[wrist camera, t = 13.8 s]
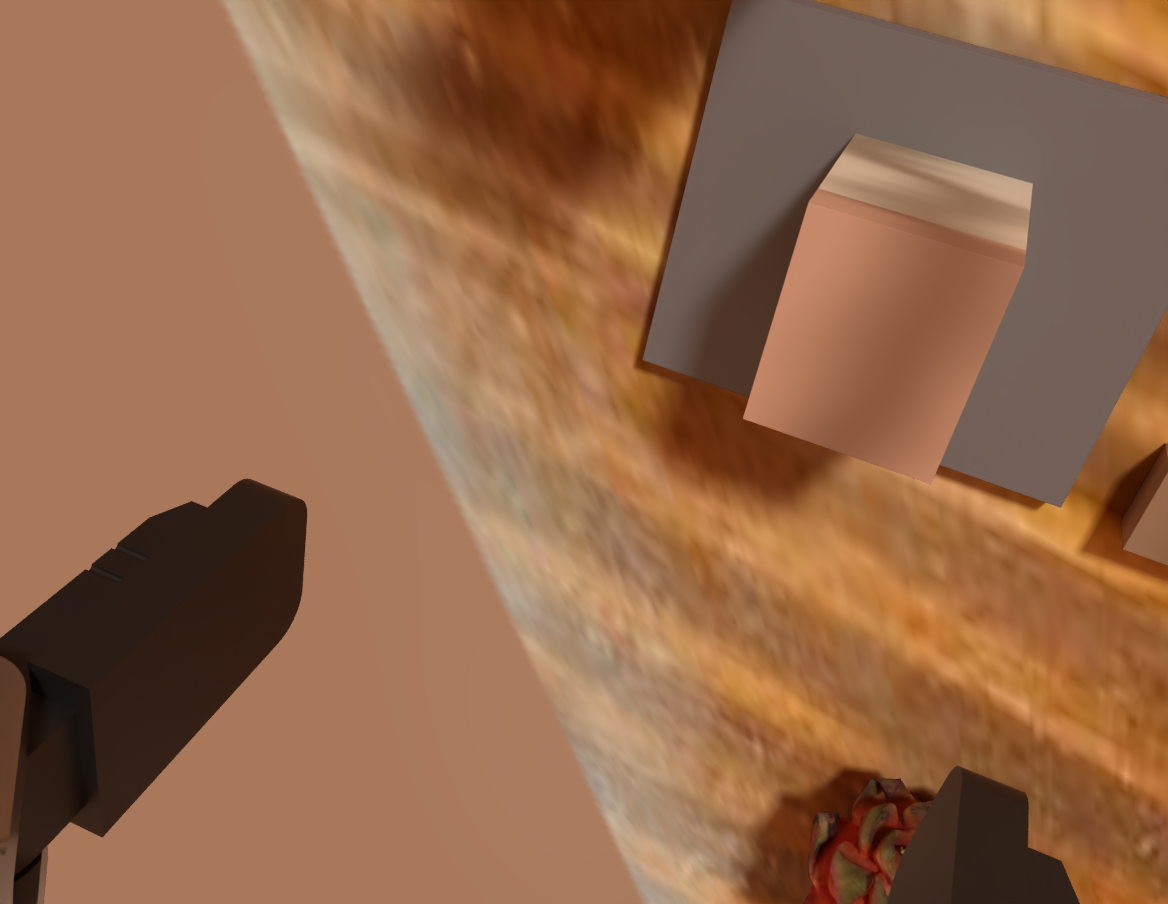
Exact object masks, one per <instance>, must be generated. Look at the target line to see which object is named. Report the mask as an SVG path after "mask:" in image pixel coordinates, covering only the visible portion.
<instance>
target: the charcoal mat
mask: <svg viewBox="0 0 1168 904" xmlns="http://www.w3.org/2000/svg"><path fill="white" fill-rule="evenodd" d="M856 133H857V134H860V135H864V136H867V137H871V138H874V139H878V140H881V141H885V142H888V143H892V144H895V145H899V146H902V147H906V148H909V149H913V150H916V151H920V152H923V153H927V154H930V155H934V156H937V157H941V158H944V159H948V160H951V161H955V162H958V163H962V164H965V165H969V166H972V167H976V168H979V169H983V170H986V171H990V172H993V173H997V174H1000V175H1004V176H1007V177H1011V178H1014V179H1018V180H1021V181H1025V182H1029V183H1032V184H1033V187H1032V197H1031V207H1030V217H1029V227H1028V237H1027V247H1026V257H1025V267H1024V270H1023V272H1022V274H1021V276H1020V279H1019V281H1018V283H1017V286H1016V288H1015V290H1014V293H1013V295H1012V297H1011V300H1010V302H1009V304H1008V307H1007V309H1006V311H1005V314H1004V316H1003V318H1002V321H1001V323H1000V325H999V328H998V330H997V332H996V335H995V337H994V339H993V342H992V344H991V346H990V348H989V351H988V353H987V355H986V358H985V360H984V362H983V365H982V367H981V369H980V372H979V374H978V376H977V379H976V381H975V383H974V386H973V388H972V390H971V393H970V395H969V397H968V400H967V402H966V404H965V407H964V409H963V411H962V413H961V416H960V418H959V420H958V423H957V425H956V427H955V430H954V432H953V434H952V437H951V439H950V441H949V444H948V446H947V448H946V451H945V453H944V455H943V458H942V460H941V462H940V465H941V466H944V467H947V468H950V469H953V470H956V471H958V472H961V473H964V474H967V475H970V476H973V477H975V478H978V479H981V480H984V481H987V482H989V483H992V484H995V485H998V486H1001V487H1004V488H1006V489H1009V490H1012V491H1015V492H1018V493H1021V494H1023V495H1026V496H1029V497H1032V498H1035V499H1038V500H1040V501H1043V502H1046V503H1049V504H1052V505H1055V506H1057V507H1060V508H1061V506H1062V504H1063V503H1064V501H1065V499H1066V497H1067V495H1068V493H1069V491H1070V489H1071V487H1072V486H1073V484H1074V482H1075V480H1076V478H1077V476H1078V474H1079V472H1080V471H1081V469H1082V467H1083V465H1084V463H1085V461H1086V459H1087V457H1088V456H1089V454H1090V452H1091V450H1092V448H1093V446H1094V444H1095V442H1096V440H1097V439H1098V437H1099V435H1100V433H1101V431H1102V429H1103V427H1104V425H1105V424H1106V422H1107V420H1108V418H1109V416H1110V414H1111V412H1112V410H1113V409H1114V407H1115V405H1116V403H1117V401H1118V399H1119V397H1120V395H1121V393H1122V392H1123V390H1124V388H1125V386H1126V384H1127V382H1128V380H1129V378H1130V377H1131V375H1132V373H1133V371H1134V369H1135V367H1136V365H1137V363H1138V361H1139V360H1140V358H1141V356H1142V354H1143V352H1144V350H1145V348H1146V346H1147V345H1148V343H1149V341H1150V339H1151V337H1152V335H1153V333H1154V331H1155V330H1156V328H1157V326H1158V324H1159V322H1160V320H1161V318H1162V316H1163V314H1164V313H1165V311H1166V309H1167V307H1168V98H1167V97H1163V96H1159V95H1156V94H1152V93H1148V92H1145V91H1141V90H1137V89H1134V88H1130V87H1126V86H1123V85H1119V84H1115V83H1112V82H1108V81H1104V80H1101V79H1097V78H1093V77H1090V76H1086V75H1082V74H1079V73H1075V72H1071V71H1068V70H1064V69H1060V68H1057V67H1053V66H1050V65H1046V64H1042V63H1039V62H1035V61H1031V60H1028V59H1024V58H1020V57H1017V56H1013V55H1009V54H1006V53H1002V52H998V51H995V50H991V49H987V48H984V47H980V46H976V45H973V44H969V43H965V42H962V41H958V40H954V39H951V38H947V37H943V36H940V35H936V34H932V33H929V32H925V31H921V30H918V29H914V28H910V27H907V26H903V25H899V24H896V23H892V22H888V21H885V20H881V19H877V18H874V17H870V16H866V15H863V14H859V13H855V12H852V11H848V10H844V9H841V8H837V7H833V6H830V5H826V4H822V3H819V2H815V1H811V0H732V2H731V6H730V10H729V14H728V18H727V22H726V26H725V30H724V34H723V38H722V42H721V46H720V50H719V54H718V58H717V62H716V66H715V70H714V74H713V78H712V82H711V86H710V90H709V94H708V99H707V103H706V107H705V111H704V115H703V119H702V123H701V127H700V131H699V135H698V139H697V143H696V147H695V151H694V155H693V159H692V163H691V167H690V171H689V175H688V179H687V183H686V187H685V191H684V195H683V199H682V203H681V207H680V211H679V215H678V219H677V223H676V227H675V231H674V235H673V239H672V243H671V247H670V251H669V255H668V259H667V263H666V267H665V272H664V276H663V280H662V284H661V288H660V292H659V296H658V300H657V304H656V308H655V312H654V316H653V320H652V324H651V328H650V332H649V336H648V340H647V344H646V348H645V352H644V356H643V360H644V361H647V362H650V363H653V364H656V365H658V366H661V367H664V368H667V369H670V370H673V371H675V372H678V373H681V374H684V375H687V376H690V377H692V378H695V379H698V380H701V381H704V382H707V383H709V384H712V385H715V386H718V387H721V388H724V389H726V390H729V391H732V392H735V393H738V394H741V395H743V396H746V397H750V393H751V390H752V387H753V384H754V380H755V377H756V374H757V370H758V367H759V364H760V361H761V357H762V354H763V351H764V347H765V344H766V341H767V337H768V334H769V331H770V328H771V324H772V321H773V318H774V314H775V311H776V308H777V305H778V301H779V298H780V295H781V291H782V288H783V285H784V282H785V278H786V275H787V272H788V268H789V265H790V262H791V259H792V255H793V252H794V249H795V245H796V242H797V239H798V235H799V232H800V229H801V226H802V222H803V219H804V216H805V212H806V209H807V206H808V203H809V201H810V199H811V198H812V197H813V195H814V194H815V192H816V191H817V189H818V188H819V186H820V185H821V183H822V182H823V180H824V179H825V178H826V176H827V175H828V173H829V172H830V170H831V169H832V167H833V166H834V164H835V163H836V161H837V160H838V158H839V157H840V156H841V154H842V153H843V151H844V150H845V148H846V147H847V145H848V144H849V142H850V141H851V139H852V138H853V137H854V135H855V134H856Z"/></svg>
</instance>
